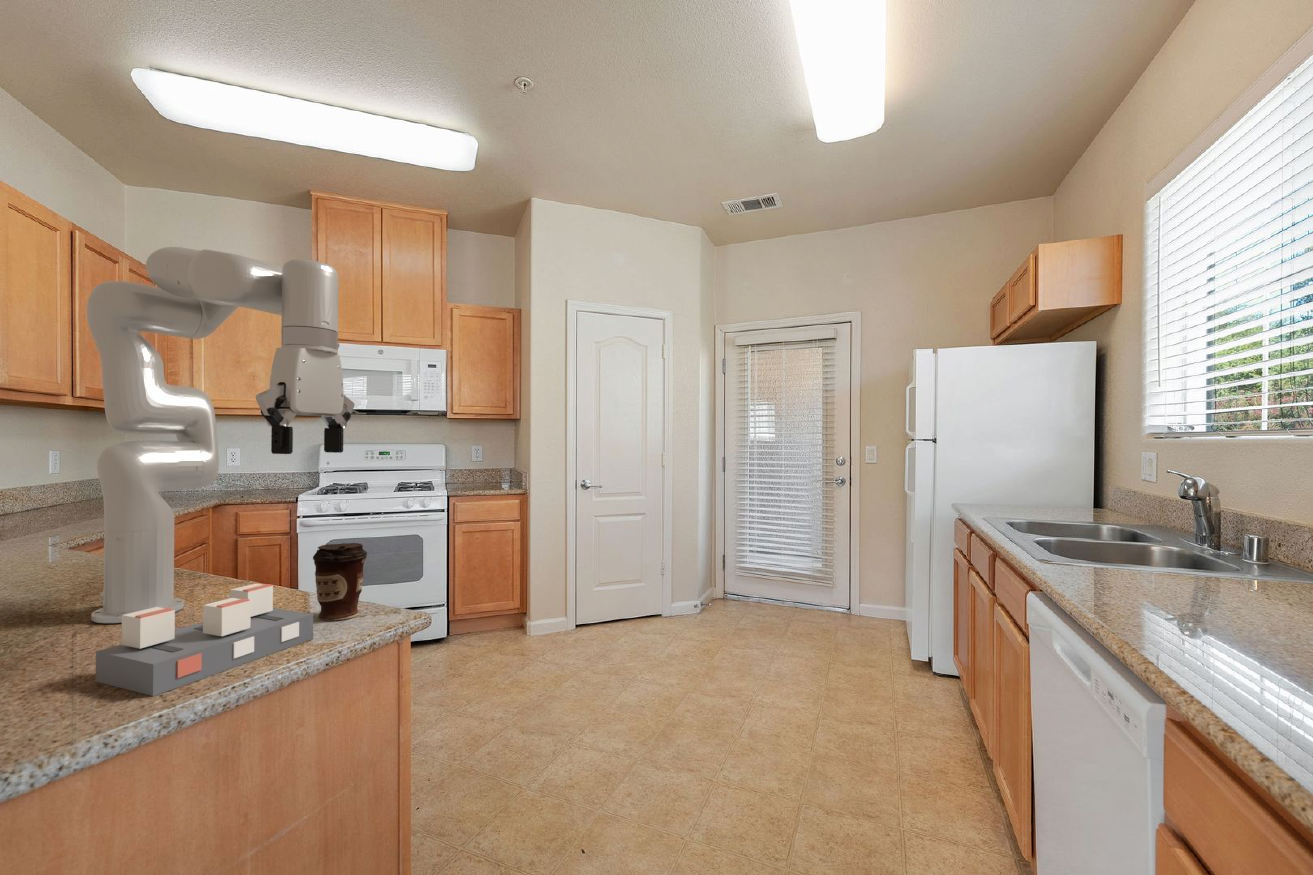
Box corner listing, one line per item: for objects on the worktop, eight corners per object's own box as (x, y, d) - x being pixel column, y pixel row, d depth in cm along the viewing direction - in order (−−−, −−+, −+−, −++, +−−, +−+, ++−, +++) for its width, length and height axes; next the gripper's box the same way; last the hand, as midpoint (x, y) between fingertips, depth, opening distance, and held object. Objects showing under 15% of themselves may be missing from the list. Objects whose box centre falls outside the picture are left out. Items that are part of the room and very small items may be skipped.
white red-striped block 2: (230, 614, 90) (230, 588, 90) (255, 607, 94) (255, 582, 94) (247, 617, 88) (248, 590, 88) (272, 610, 92) (273, 584, 92)
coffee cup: (341, 625, 98) (341, 550, 98) (299, 622, 100) (300, 548, 100) (375, 611, 107) (376, 542, 107) (337, 608, 108) (337, 540, 108)
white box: (121, 644, 77) (121, 613, 77) (156, 635, 80) (156, 605, 80) (140, 648, 75) (140, 616, 75) (174, 638, 79) (174, 608, 79)
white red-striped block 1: (202, 632, 82) (203, 603, 82) (231, 624, 85) (232, 596, 85) (221, 636, 80) (221, 606, 80) (250, 627, 84) (250, 599, 84)
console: (95, 681, 75) (96, 650, 75) (261, 629, 96) (261, 605, 96) (154, 696, 71) (154, 663, 71) (313, 638, 92) (314, 613, 92)
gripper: (333, 352, 97) (332, 451, 97) (238, 333, 80) (236, 454, 80) (370, 350, 96) (369, 452, 96) (281, 331, 79) (280, 454, 79)
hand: (309, 453), depth 88 cm, fingers open, 9 cm apart
